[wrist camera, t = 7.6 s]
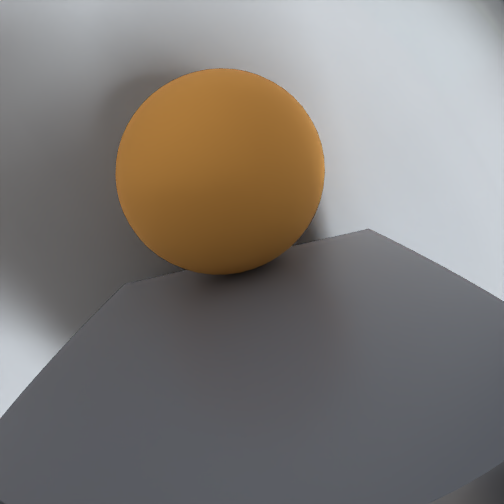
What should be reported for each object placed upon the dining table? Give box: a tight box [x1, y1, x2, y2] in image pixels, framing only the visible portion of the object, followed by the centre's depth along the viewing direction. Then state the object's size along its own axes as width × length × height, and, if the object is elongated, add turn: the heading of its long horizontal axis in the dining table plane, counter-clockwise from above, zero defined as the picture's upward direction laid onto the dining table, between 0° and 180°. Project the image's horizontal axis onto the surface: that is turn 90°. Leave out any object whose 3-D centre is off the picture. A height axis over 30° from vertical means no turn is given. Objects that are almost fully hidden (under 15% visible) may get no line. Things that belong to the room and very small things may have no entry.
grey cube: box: [0, 229, 504, 504], centre depth 6 cm, size 8×8×8 cm
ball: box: [116, 68, 325, 275], centre depth 7 cm, size 5×5×5 cm
